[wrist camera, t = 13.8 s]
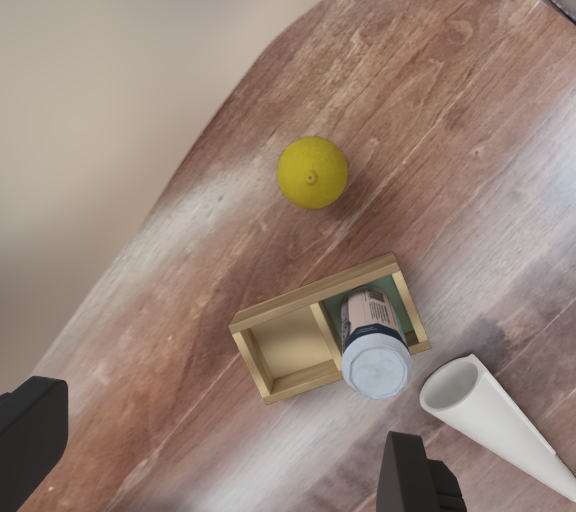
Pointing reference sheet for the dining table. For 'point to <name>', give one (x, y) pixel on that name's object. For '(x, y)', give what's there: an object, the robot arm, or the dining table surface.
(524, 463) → the long cone
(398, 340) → the beer can
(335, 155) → the lemon
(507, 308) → the dining table surface
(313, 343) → the wooden divided tray
